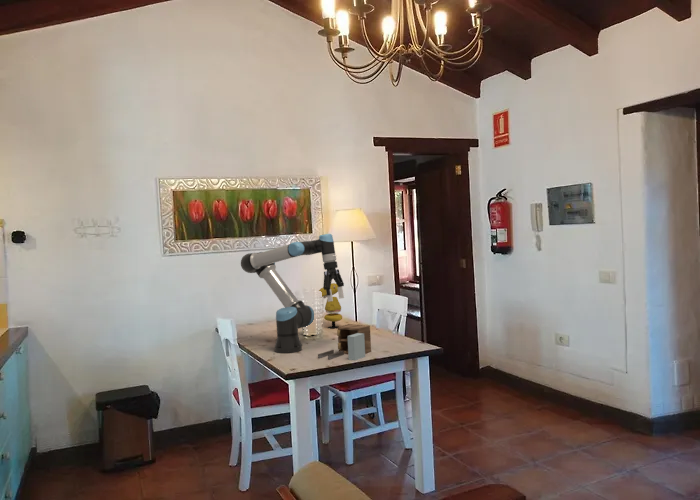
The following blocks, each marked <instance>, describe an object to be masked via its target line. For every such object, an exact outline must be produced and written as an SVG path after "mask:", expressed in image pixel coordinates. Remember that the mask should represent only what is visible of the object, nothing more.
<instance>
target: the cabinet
mask: <svg viewBox="0 0 700 500" xmlns="http://www.w3.org/2000/svg"><path fill="white" fill-rule="evenodd" d="M356 333H363V334H364V339H365V355H366V354H368V353H371V352H372V341H371V340H372V339H371V325H368V324H367V325H366V324H355V323H354V324H353V323H352V324H351V323H348V324H344V325H340V327H338V328H337V329H336V335H337V341H338V343H337V349H338V352H335V350H334V349H330V350H328V351H324V352H321V353H317V357H318V359H322V358H325V357H327V359H328V360H333V359H335V358H338V357H341V356H344V355H348V337H347V336H350V335H353V334H356Z"/></svg>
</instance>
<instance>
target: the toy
mask: <svg viewBox="0 0 700 500" xmlns="http://www.w3.org/2000/svg"><path fill="white" fill-rule="evenodd" d="M337 287H338V285H337V284H336V282H334V283H332V282H331V286H330V289H331V292H332V298H333V301H329V302H328V298H327V292H326V290H324V288H323V287H321V288H320V289H319V290H318V291H321V292H322V297H321V298H323V299H326V302H325V306H324V311H325V313H327V314H325V315H324V316H323V318H324V320H325V321H328V322H331V326H328V327H327V329H328V328H330V330H335V328H336V329H338V327H340V326H341V325H340V326H339V325H336V322H339V321H341V320H343V315H342V314H340V312H342V306H341V303H340V302H339V298H338V297H337V296H333V295H336V294H338V288H337Z"/></svg>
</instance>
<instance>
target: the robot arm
mask: <svg viewBox="0 0 700 500" xmlns="http://www.w3.org/2000/svg"><path fill="white" fill-rule="evenodd" d="M320 253H321V257H322V263H323V270H325V271H323V287H322V288H324V290H326V292H327V297H326V299H328V302H329V301H333V298H332V297H333V295H332V292H331V289H330V286H331V283H332V281H333V280H334V283H335V284H337V285H338V287H337V288H338V292H337V294H338V300H339V299H344V298H345V297H344V296H345V295H344V289H343V287H344V285H345V283H344V280H343V278H342V276H341V272H340V270H339V269H340V268H339V269H337V268H338V262H337V255H336V250H335V241H334V238H333V235H332V234H331V233H326V234H322V235H319V236H318V239H315V240H306V241H293V242H291V243H289V244H286V245H282V246H279V247H276V248H273V249H269V250H266V251H259V252H252V253H251V252H250V253H246V254H245V255H243V256H241V257H242V258H241V259H240V266H241V269H242V270H243V271H244V272H246V273H248V274H256V275H258V278H260V279H263V280H264V281H265V282H266V283H267V285H268V286H269V288H270V290H272V292H273V293H274V295H275V296H276V297H277V299H278V300H279V302H280V303H281V304H282V306H283V307H282V308H279V309H277V310H276V312H275V322H276V335H277V337H276V340H275V345H274V352H276V353H277V354H290V353H291V354H292V353H297V352H300V351H302V350H303V345H302V342H301V340H300V337H299V329H301V328H302V327H306V326H308V325H310V324H311V323H312V322H313V320H314V311H315V310H314V309H313V308H312V307H311V306H310V305H306V304H305V303H304V302H303V301H302V299H301V300H300V299H298V297H296V295H295V294H294V292H292V290H291V289H290V287H289V286H288V285H287V284H286V282H285V281H284V280H283V278H282V277H281V276H280V274H279V273H278V271H277V270H276V269H277V267H276V263H278V262H281V261H285V260H289V259H293V258H298V257H300V256H311V255H316V254H320ZM302 329H303V328H302Z"/></svg>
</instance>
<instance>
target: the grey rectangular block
mask: <svg viewBox="0 0 700 500" xmlns="http://www.w3.org/2000/svg"><path fill="white" fill-rule="evenodd" d="M347 337H348V354H347V355H348V360H349V361H354V362H355V361H358V360H360V359H363V358H366V354H365V339H364V334H363V333H356V334H353V335H350V336H347Z"/></svg>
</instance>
